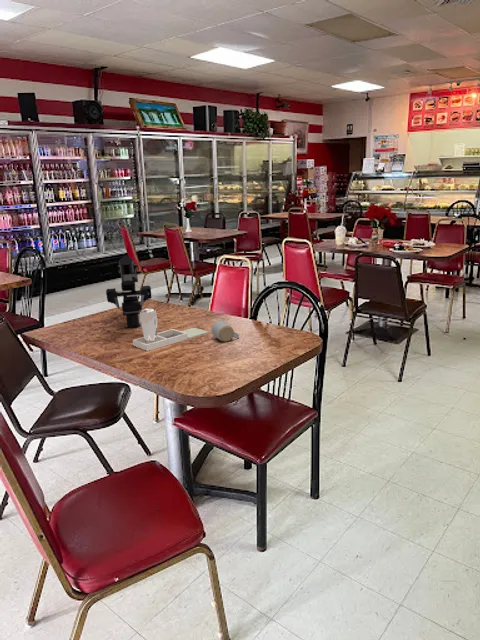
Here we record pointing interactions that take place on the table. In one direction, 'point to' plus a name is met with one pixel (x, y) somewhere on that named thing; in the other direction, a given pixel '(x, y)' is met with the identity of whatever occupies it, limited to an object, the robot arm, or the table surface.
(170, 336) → the white divided tray
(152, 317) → the shiny metal tumbler
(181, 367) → the table surface
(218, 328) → the ceramic mug
